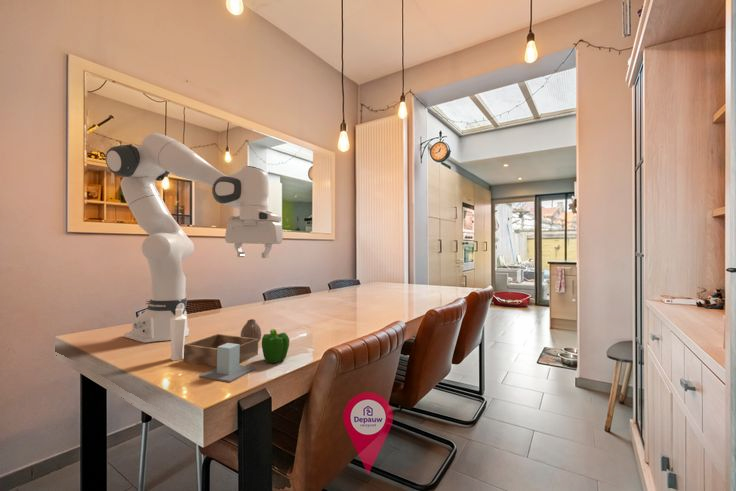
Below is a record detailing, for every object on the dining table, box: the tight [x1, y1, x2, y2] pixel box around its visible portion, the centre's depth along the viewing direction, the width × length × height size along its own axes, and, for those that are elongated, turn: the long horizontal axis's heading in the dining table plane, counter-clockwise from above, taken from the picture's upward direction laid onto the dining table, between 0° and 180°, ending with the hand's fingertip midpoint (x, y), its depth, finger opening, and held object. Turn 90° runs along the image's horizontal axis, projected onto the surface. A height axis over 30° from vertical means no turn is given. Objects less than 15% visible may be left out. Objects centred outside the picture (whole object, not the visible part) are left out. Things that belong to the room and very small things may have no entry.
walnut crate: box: [183, 333, 259, 368], centre depth 100 cm, size 16×14×5 cm
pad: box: [198, 364, 256, 383], centre depth 89 cm, size 10×10×1 cm
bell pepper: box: [261, 328, 290, 364], centre depth 99 cm, size 8×8×10 cm
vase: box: [240, 318, 262, 343], centre depth 115 cm, size 7×7×9 cm
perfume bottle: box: [169, 309, 188, 362], centre depth 99 cm, size 5×4×15 cm
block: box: [217, 343, 240, 375], centre depth 89 cm, size 4×4×7 cm
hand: (252, 257), depth 107 cm, fingers open, 8 cm apart
